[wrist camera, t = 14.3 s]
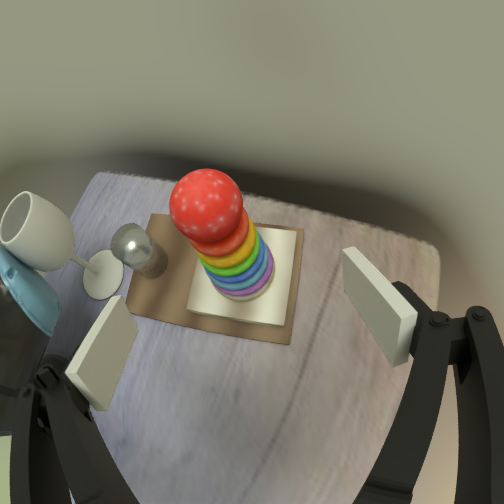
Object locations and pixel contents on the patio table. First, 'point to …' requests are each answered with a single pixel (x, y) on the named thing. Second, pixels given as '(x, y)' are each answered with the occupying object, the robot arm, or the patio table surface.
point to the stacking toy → (222, 234)
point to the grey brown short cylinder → (139, 251)
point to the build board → (180, 283)
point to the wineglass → (54, 244)
